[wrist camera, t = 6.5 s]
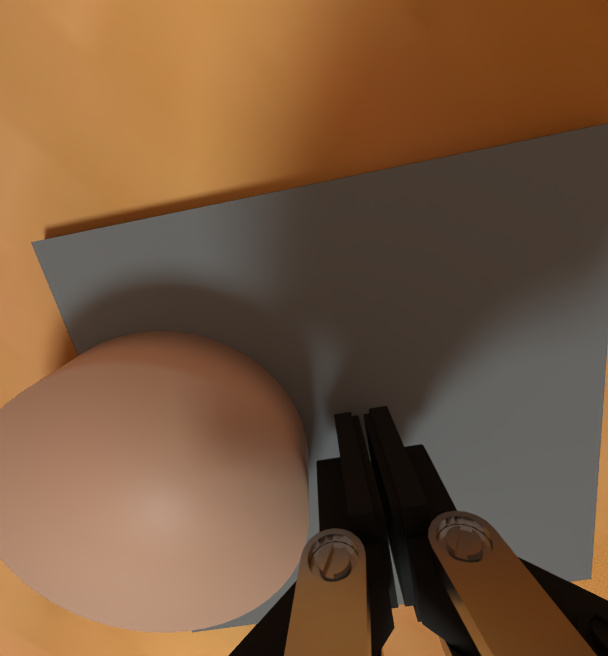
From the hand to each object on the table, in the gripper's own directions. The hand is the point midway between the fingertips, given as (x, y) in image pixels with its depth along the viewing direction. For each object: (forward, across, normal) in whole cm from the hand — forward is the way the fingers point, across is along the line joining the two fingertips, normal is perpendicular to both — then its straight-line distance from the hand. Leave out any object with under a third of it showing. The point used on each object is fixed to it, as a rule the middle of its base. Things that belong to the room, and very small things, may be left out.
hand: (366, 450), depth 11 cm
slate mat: (+1, 0, 0) cm, 1 cm away
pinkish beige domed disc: (+1, +6, 0) cm, 6 cm away
